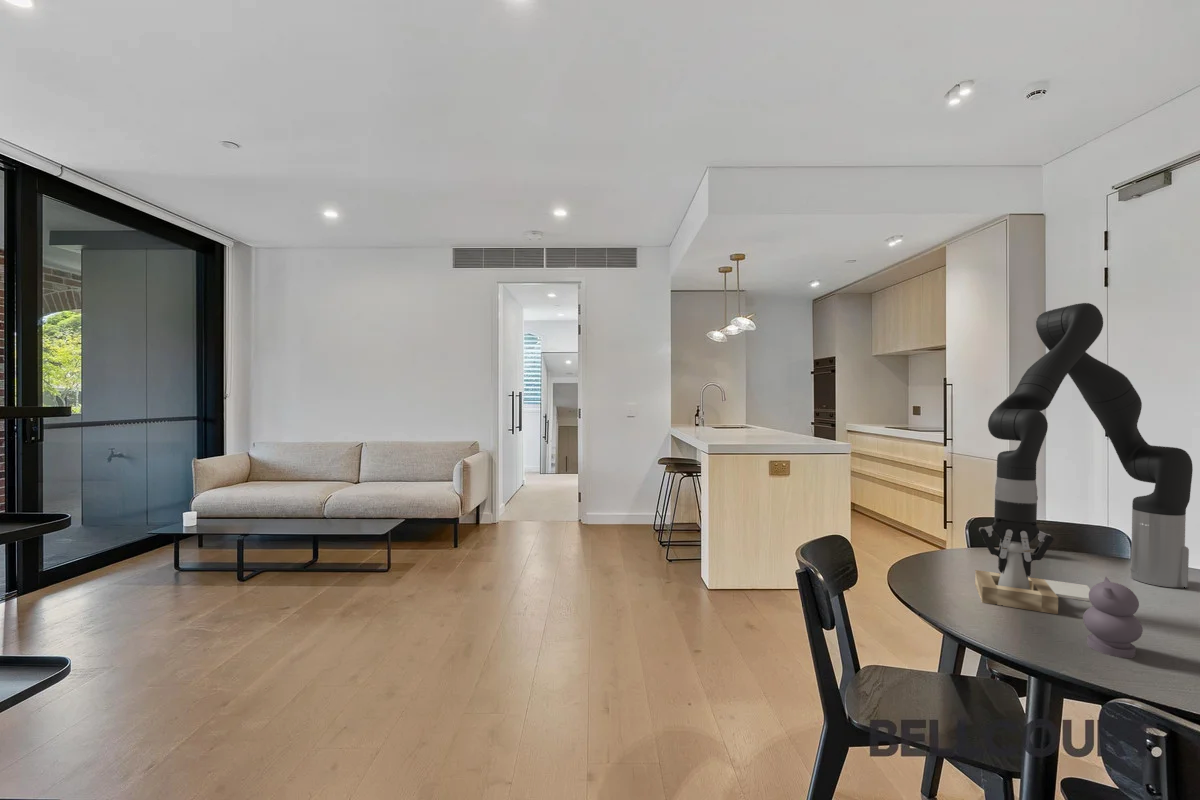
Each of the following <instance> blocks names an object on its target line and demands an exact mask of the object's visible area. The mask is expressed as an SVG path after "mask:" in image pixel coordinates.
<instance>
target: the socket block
mask: <svg viewBox="0 0 1200 800" xmlns="http://www.w3.org/2000/svg"><path fill="white" fill-rule="evenodd" d="M974 574H975V575H974V577H975V579H974V580H975V581H974V583H975V588H976V590H977V593H978V596H979V597H980V601H981V603H983V604H989V605H995V604H997V605H996V606H1001V605H1003V606H1002V607H1008V608H1016V609H1022V610H1027V611H1028V610H1029V611H1034V612H1041V613H1046V614H1052V615H1053V614H1054V615H1058V614H1059V597H1057V595H1056V594H1055V593H1054V591H1053V590H1052V589H1051V588H1050V586H1049V585H1048V584H1047V582H1046V581H1045V580H1046V579H1044V578H1037V577H1029V576H1028V580H1029V585H1030V590H1027V589H1020V588H1013V587H1006V586H999V585H998V582H999V578H1000V574H1001V572H1000V573H998V572H995V571H994V572H993V571H987V570H976V569H975V573H974Z"/></svg>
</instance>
